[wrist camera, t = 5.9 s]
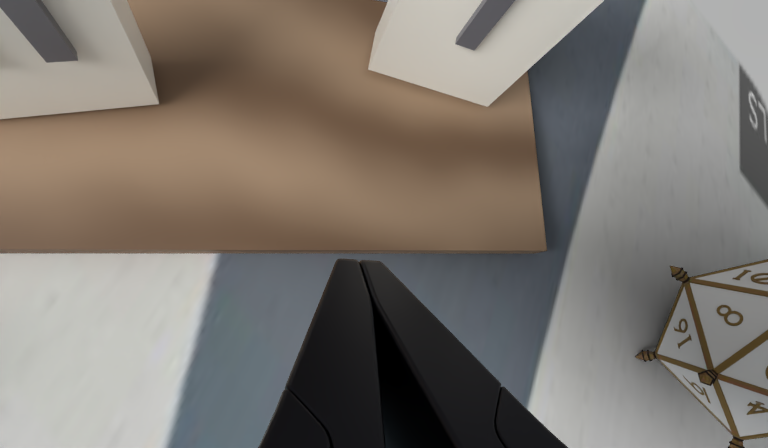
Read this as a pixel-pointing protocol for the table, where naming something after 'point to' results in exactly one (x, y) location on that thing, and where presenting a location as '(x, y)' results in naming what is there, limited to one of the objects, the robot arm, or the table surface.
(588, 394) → the table surface
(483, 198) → the brown wooden board
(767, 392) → the game die
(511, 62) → the one stripe tile
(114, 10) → the two stripe tile
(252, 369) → the table surface
